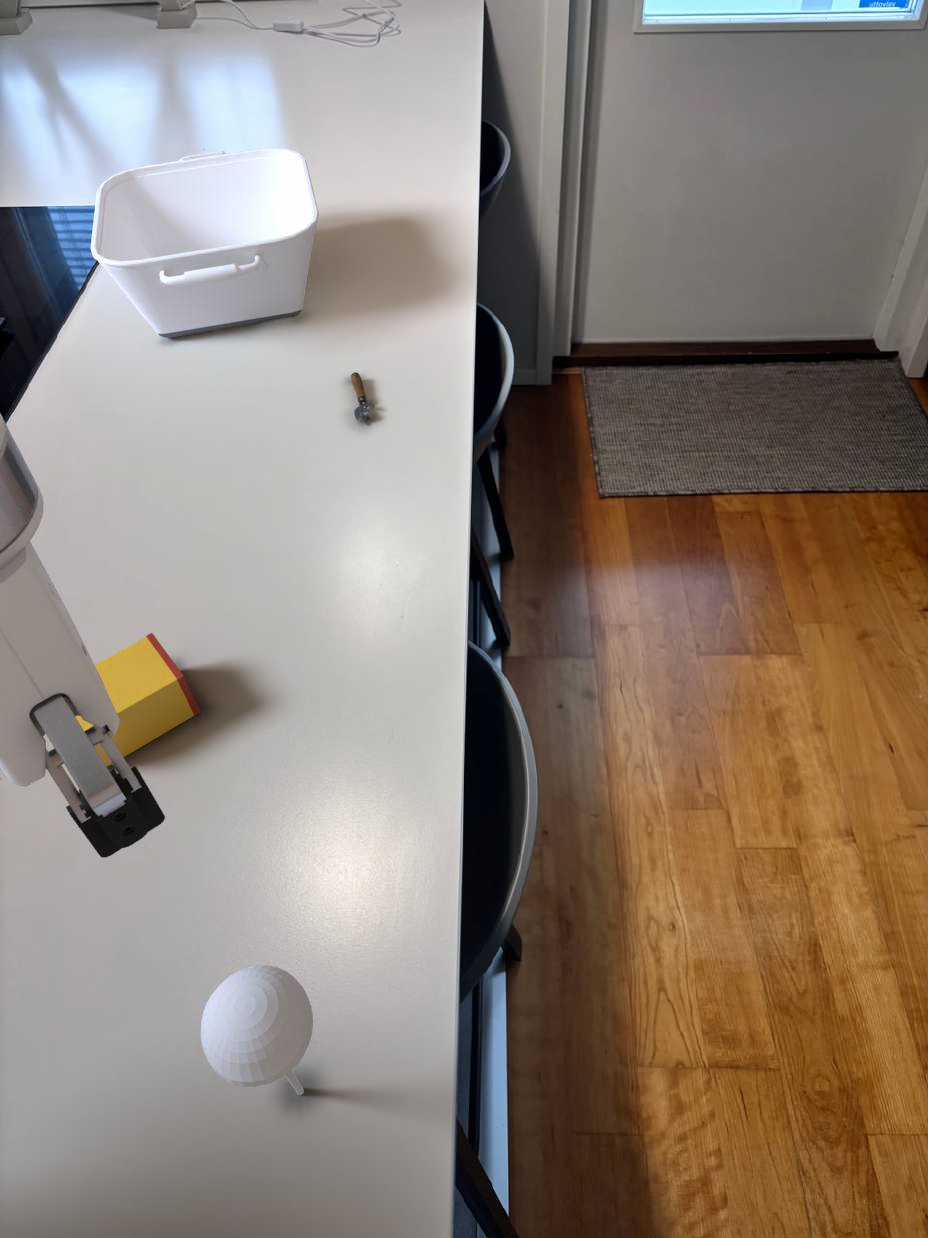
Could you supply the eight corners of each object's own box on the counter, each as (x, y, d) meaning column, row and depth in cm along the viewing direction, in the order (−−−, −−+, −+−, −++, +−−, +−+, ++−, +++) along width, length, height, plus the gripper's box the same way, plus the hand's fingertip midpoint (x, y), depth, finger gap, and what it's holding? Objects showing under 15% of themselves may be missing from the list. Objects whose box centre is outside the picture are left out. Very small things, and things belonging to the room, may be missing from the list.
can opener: (351, 380, 111) (349, 371, 110) (371, 377, 111) (369, 369, 110) (355, 427, 105) (354, 418, 104) (376, 424, 105) (375, 415, 104)
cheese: (100, 772, 77) (77, 736, 73) (72, 724, 80) (48, 688, 76) (201, 713, 80) (183, 675, 76) (170, 669, 84) (151, 632, 80)
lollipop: (246, 1058, 61) (180, 966, 50) (335, 1027, 62) (290, 932, 51) (262, 1160, 57) (194, 1086, 46) (356, 1127, 58) (312, 1046, 47)
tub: (344, 346, 116) (327, 246, 107) (124, 384, 114) (85, 285, 104) (315, 223, 139) (299, 131, 129) (130, 252, 136) (99, 161, 127)
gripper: (-243, 433, 37) (-42, 698, 50) (-123, 707, 27) (89, 948, 40) (-52, 358, 40) (92, 627, 52) (118, 583, 30) (244, 845, 43)
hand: (91, 766), depth 46 cm, fingers open, 9 cm apart
